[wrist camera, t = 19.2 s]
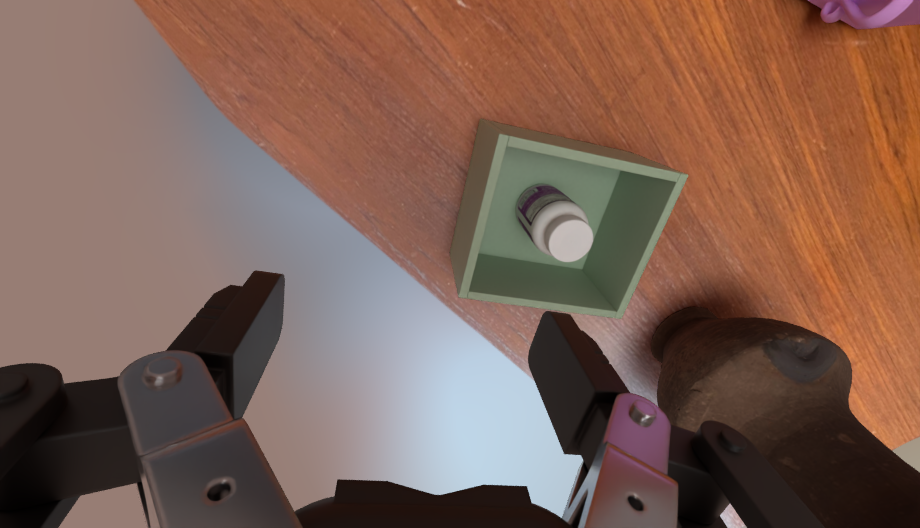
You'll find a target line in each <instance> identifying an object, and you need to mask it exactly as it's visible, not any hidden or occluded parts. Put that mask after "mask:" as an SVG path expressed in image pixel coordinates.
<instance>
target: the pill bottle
mask: <svg viewBox="0 0 920 528" xmlns="http://www.w3.org/2000/svg"><path fill="white" fill-rule="evenodd" d="M516 216H517V219H518V221H519V223H520V225H521V226H522V228H523V229H524V230H525V232H526V233H527V235H528V236H529V237H530V239H531V240H532V242H533V243H534V245H535V246H536V247H537V248H538V249H539V250H540V251H541V252H543V253H544V254H547V255H550V256H553V257H554V258H556V259H557V260H559V261H562V262H573V261H576V260H578V259H580V258H582V257H583V256H584V255H585V254H586V253H587V252H588V251H589V250H590V248H591V246H592V243H593V232H592V229H591V228H590V226H589V225H588V219H587V216H586V214H585V212H584V211H583V210H582V208H581V207H580V206H579V205H577V204H576V203H575V202H573V201H572V200H571V199H570V198H569V197H567V196H566V195H565V194H564V193H562V192H561V191H560V190H558V189H557V188H556V187H554V186H551V185H548V184H538V185H534V186H532V187H530V188H528V189H527V190H526V191H525V192H524V193H523V194H522V195H521V196H520V198H519V200H518V202H517V205H516Z"/></svg>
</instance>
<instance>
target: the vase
mask: <svg viewBox="0 0 920 528" xmlns="http://www.w3.org/2000/svg"><path fill="white" fill-rule="evenodd" d="M651 351H652V354H653V355H654V357H655V358H656V359H657V360H658V361H659V362H661V363H662V365H661V372H660V377H659V381H658V389H657V402H658V407H659V408H660V409H661V410H662V411H663V412H664V413H665V415H666V416H667V417H668V419H669V421H670V424H671V425H674V426H677V427H680V428H683V429H686V430H689V431H692V432H695V433H696V431H697V430H698V428H699V427H700V425H701V424H702V423H703V422H704V421H707V420H713V421H718V422H721V423H724V424H726V425H728V426H730V427H732V428H734V429H735V430H737V431H738V432H740V433H741V434H743V435H744V436H745V437H746V438H747V439H748V440H750V441H751V442H752V443H753V445H754V446H755V447H756V448H757V449H758V450H759V451H760V453H761V454H762V455H763V456H764V457H765V458H766V460H767V461H768V462H769V463H770V464H771V465H772V467H773V468H774V469H775V470H776V471H777V472H778V473H779V475H780V476H781V477H782V478H783V479H784V480H785V482H786V483H787V484H788V485H789V486H790V487H791V489H792V490H793V491H794V492H795V493H796V494H797V496H798V497H799V498H800V499H801V500H802V501H803V503H804V504H805V505H806V506H807V507H808V508H809V509H810V511H811V512H812V513H813V514H814V515H815V516H816V518H817V519H818V520H819V521H820V522H821V523H822V525H823V526H824V527H825V528H920V473H919V472H918V471H917V470H915V469H914V468H913V467H911V466H910V465H909V464H907V463H906V462H904V461H903V460H902V459H901V458H900V457H899V456H897V455H896V454H895V453H894V452H893V451H891V450H890V449H889V448H888V447H886V446H885V445H884V444H883V443H882V442H881V441H880V440H878V439H877V438H876V437H875V436H874V435H873V434H872V433H871V432H870V431H868V430H867V429H866V428H865V427H864V426H863V425H862V424H861V423H860V422H859V421H858V420H857V419H856V417H855V416H854V415H853V414H852V412H851V410H850V409H849V403H848V398H849V392H850V388H851V383H852V368H851V363H850V361H849V359H848V357H847V355H846V354H845V352H844V351H843V350H842V349H841V348H840V347H839V346H837V345H836V344H835V343H833V342H832V341H830V340H829V339H827V338H825V337H823V336H821V335H819V334H817V333H814V332H812V331H810V330H807V329H805V328H803V327H800V326H797V325H794V324H791V323H787V322H783V321H778V320H774V319H765V318H747V317H743V318H726V319H718V318H717V317H716V316H715V315H714V314H713V313H712V312H710V311H709V310H708V309H706V308H702V307H689V308H686V309H683V310H681V311H679V312H676V313H674V314H672V315H671V316H670V317H668V318H667V319H666V320H665V321H664V322H663V323H662V324H661V325H660V326H659V327H658V329H657V330H656V332H655V334H654V336H653V338H652V343H651Z"/></svg>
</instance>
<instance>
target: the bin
mask: <svg viewBox="0 0 920 528" xmlns="http://www.w3.org/2000/svg"><path fill="white" fill-rule="evenodd" d="M687 177H688V174H685V173H683V172H680V171H677V170H675V169H672V168H670V167H667V166H665V165H662V164H660V163H657V162H655V161H652V160H649V159H647V158H644V157H642V156H639V155H637V154H634V153H632V152H627V151H623V150H618V149H614V148H609V147H605V146H600V145H596V144H591V143H587V142H583V141H578V140H574V139H569V138H565V137H560V136H556V135H551V134H547V133H542V132H538V131H533V130H529V129H524V128H520V127H515V126H511V125H507V124H502V123H498V122H493V121H489V120H484V119H480V121H479V125H478V129H477V134H476V138H475V143H474V147H473V152H472V156H471V160H470V165H469V169H468V174H467V178H466V182H465V187H464V191H463V196H462V200H461V205H460V209H459V213H458V218H457V222H456V227H455V231H454V236H453V240H452V244H451V249H450V258H451V263H452V268H453V273H454V278H455V283H456V288H457V293H458V297H459V298H465V299H466V298H467V299H474V300H481V301H489V302H496V303H504V304H511V305H519V306H527V307H534V308H542V309H549V310H557V311H564V312H572V313H580V314H587V315H595V316H602V317H610V318H618V319H621V318H622V316H623V314H624V312H625V310H626V308H627V306H628V303H629V301H630V299H631V297H632V295H633V293H634V291H635V288H636V286H637V284H638V282H639V280H640V278H641V276H642V273H643V271H644V269H645V267H646V265H647V263H648V261H649V259H650V256H651V254H652V252H653V250H654V248H655V246H656V244H657V241H658V239H659V237H660V235H661V233H662V231H663V229H664V226H665V224H666V222H667V220H668V218H669V216H670V214H671V211H672V209H673V207H674V205H675V203H676V201H677V199H678V197H679V194H680V192H681V190H682V188H683V186H684V184H685V182H686V179H687ZM538 184H548V185H551V186H554V187H556V188H557V189H558V190H560V191H561V192H562V193H564V194H565V195H566V196H567V197H569V198H570V199H571V200H572V201H573V202H575V203H576V204H577V205H579V206H580V207H581V208H582V210H583V211H584V212H585V214H586V216H587V219H588V225H589V226H590V228H591V229H592V232H593V243H592V246H591V248H590V250H589V251H588V252H587V253H586V254H585V255H584V256H583V257H582V258H580V259H578V260H576V261H573V262H562V261H559V260H557V259H556V258H554V257H553V256H550V255H547V254H544V253H543V252H541V251H540V250H539V249H538V248H537V247H536V246H535V245H534V243H533V242H532V240H531V239H530V237H529V236H528V235H527V233H526V232H525V230H524V229H523V228H522V226H521V225H520V223H519V221H518V219H517V216H516V205H517V202H518V200H519V198H520V196H521V195H522V194H523V193H524V192H525V191H526V190H527V189H528V188H530V187H532V186H534V185H538Z"/></svg>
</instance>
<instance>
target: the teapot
mask: <svg viewBox="0 0 920 528" xmlns="http://www.w3.org/2000/svg"><path fill="white" fill-rule="evenodd" d="M807 1H809V2H811V3H813V4H814V5H816V6H818V7H819V8H821V9H822V11H821V14H820V15H821V18H822V20H823V21H825V22H827V23H833V22H836V21H838V20H839V19H840V20H842V21H843V22H845V23H847V24H849V25H850V26H852V27H854V28H856V29H871V28H879V27H891V26H903V25H915V24H920V0H807Z"/></svg>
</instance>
